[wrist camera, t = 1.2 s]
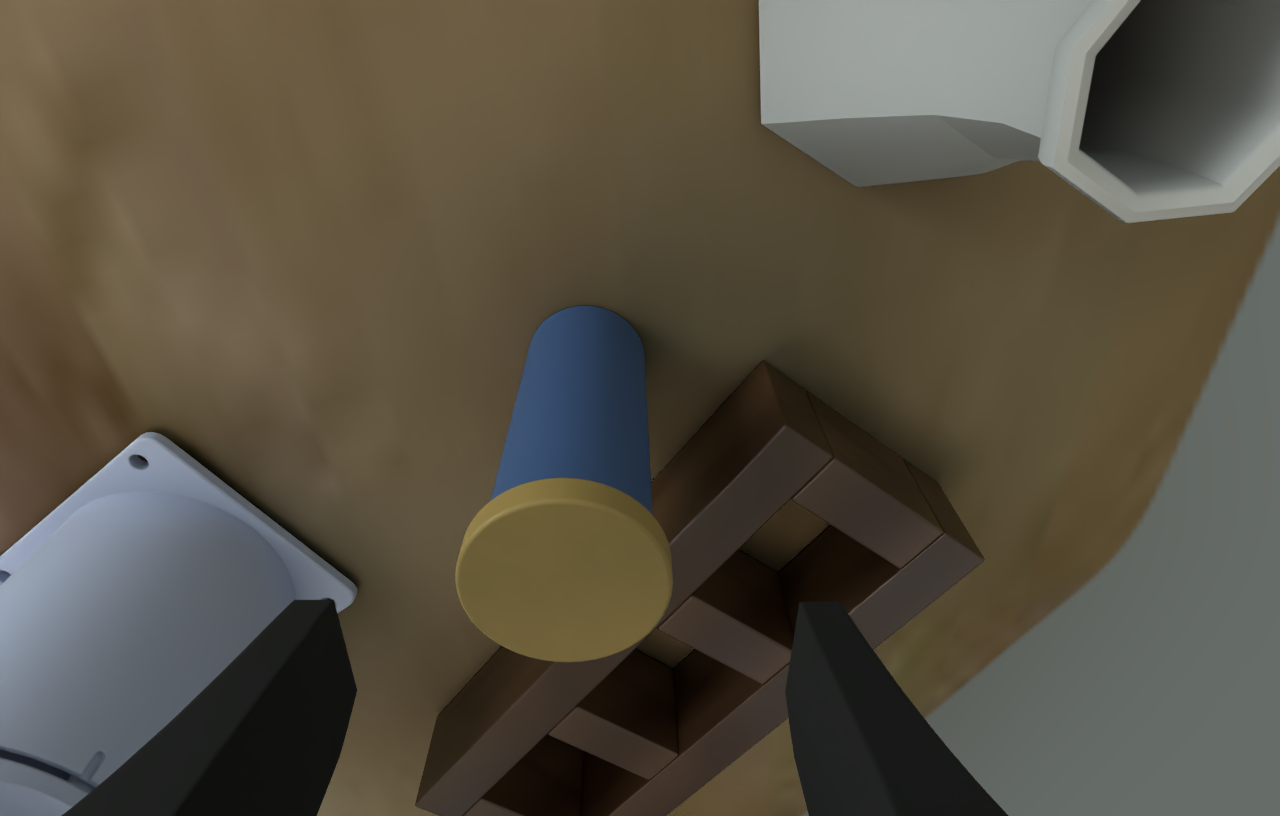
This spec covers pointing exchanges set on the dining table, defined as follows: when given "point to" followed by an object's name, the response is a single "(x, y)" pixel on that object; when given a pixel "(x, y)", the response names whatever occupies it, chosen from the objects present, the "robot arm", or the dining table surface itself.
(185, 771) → the robot arm
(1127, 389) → the dining table surface
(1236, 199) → the flask
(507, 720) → the holder
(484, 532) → the capped tube
